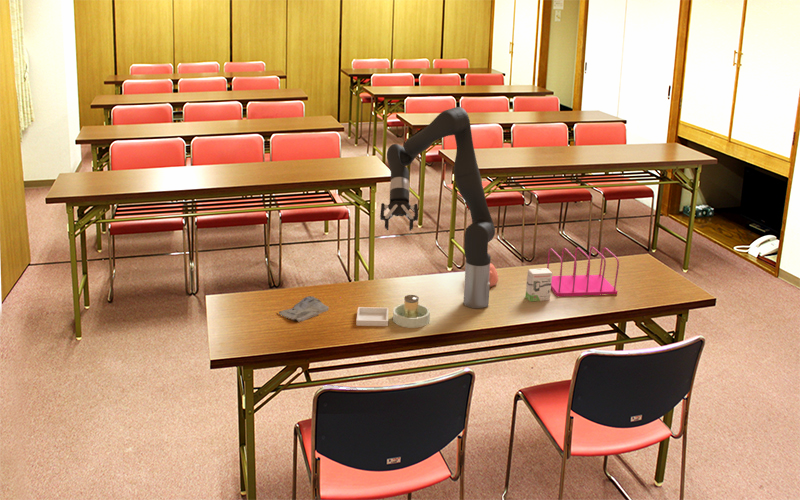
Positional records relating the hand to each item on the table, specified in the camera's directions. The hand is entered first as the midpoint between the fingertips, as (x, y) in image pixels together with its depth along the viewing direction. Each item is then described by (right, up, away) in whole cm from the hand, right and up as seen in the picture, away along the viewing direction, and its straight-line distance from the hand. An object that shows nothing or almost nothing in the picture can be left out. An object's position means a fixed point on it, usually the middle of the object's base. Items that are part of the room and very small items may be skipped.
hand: (399, 229), depth 267 cm
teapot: (+34, -21, +28) cm, 49 cm away
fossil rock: (-36, -31, -1) cm, 47 cm away
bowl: (+4, -33, -8) cm, 35 cm away
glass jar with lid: (+4, -33, -8) cm, 34 cm away
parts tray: (-10, -33, -8) cm, 35 cm away
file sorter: (+74, -23, +25) cm, 81 cm away
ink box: (+54, -27, +13) cm, 62 cm away
